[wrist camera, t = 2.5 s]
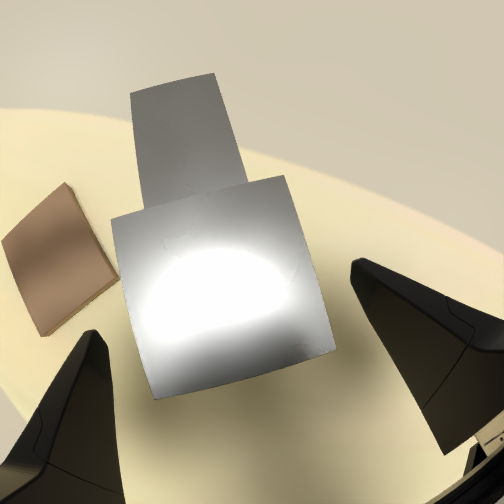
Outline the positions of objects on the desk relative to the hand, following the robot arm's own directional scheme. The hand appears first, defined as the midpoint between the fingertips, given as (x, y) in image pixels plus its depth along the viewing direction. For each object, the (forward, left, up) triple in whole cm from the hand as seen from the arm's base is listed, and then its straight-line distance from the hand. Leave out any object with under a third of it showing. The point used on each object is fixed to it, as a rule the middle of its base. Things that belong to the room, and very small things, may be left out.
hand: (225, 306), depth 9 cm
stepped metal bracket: (+2, -1, -8) cm, 9 cm away
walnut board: (+10, +7, -8) cm, 15 cm away
